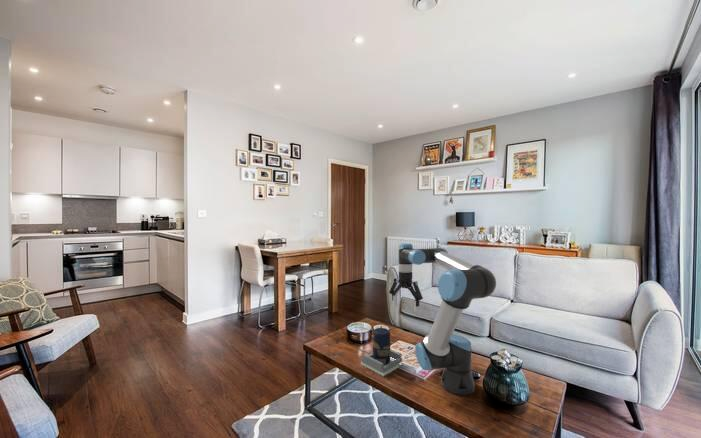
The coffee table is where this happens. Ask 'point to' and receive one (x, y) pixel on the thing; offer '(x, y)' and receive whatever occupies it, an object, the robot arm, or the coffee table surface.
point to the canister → (381, 345)
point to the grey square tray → (378, 366)
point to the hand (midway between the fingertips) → (405, 309)
